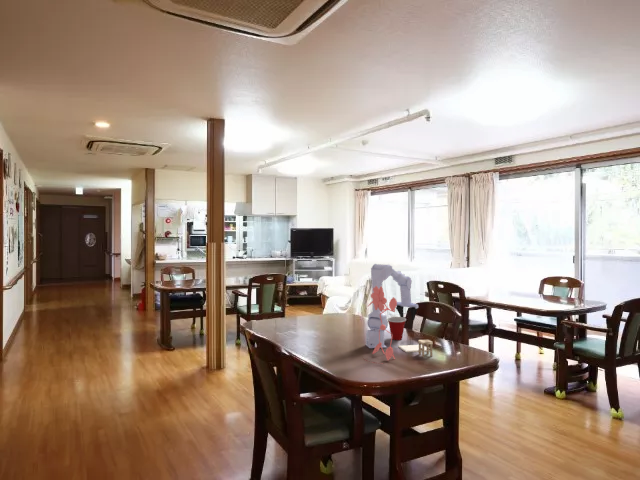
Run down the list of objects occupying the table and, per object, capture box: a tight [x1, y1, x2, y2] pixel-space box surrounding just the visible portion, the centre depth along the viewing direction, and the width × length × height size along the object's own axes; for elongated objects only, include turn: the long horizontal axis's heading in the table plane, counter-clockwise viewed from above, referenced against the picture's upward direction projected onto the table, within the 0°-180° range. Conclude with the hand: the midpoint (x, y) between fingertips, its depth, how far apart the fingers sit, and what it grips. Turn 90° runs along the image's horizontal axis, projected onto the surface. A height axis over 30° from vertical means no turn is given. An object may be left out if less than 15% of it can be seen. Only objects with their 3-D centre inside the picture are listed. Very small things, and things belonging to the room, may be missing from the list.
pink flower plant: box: [362, 286, 398, 365], centre depth 211 cm, size 15×26×35 cm, turn 24°
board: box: [398, 344, 430, 353], centre depth 229 cm, size 13×11×1 cm
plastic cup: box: [387, 316, 407, 341], centre depth 251 cm, size 11×11×12 cm
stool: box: [417, 339, 434, 358], centre depth 217 cm, size 5×5×7 cm
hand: (407, 318), depth 258 cm, fingers open, 7 cm apart
